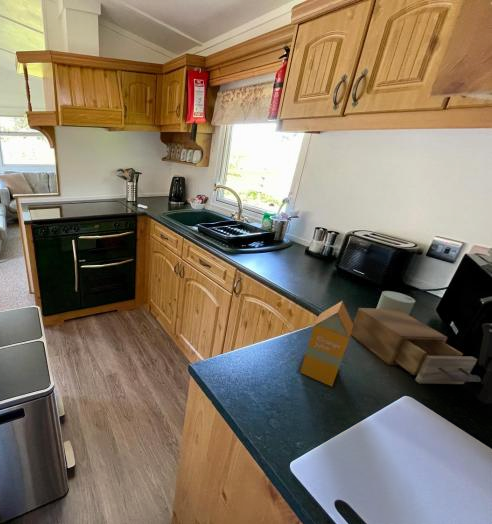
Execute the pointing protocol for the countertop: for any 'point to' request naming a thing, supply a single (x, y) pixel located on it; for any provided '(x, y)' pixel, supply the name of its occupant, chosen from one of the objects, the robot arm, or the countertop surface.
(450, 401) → the countertop surface
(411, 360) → the drawer
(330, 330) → the orange juice
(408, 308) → the can
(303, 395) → the countertop surface
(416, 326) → the cabinet
